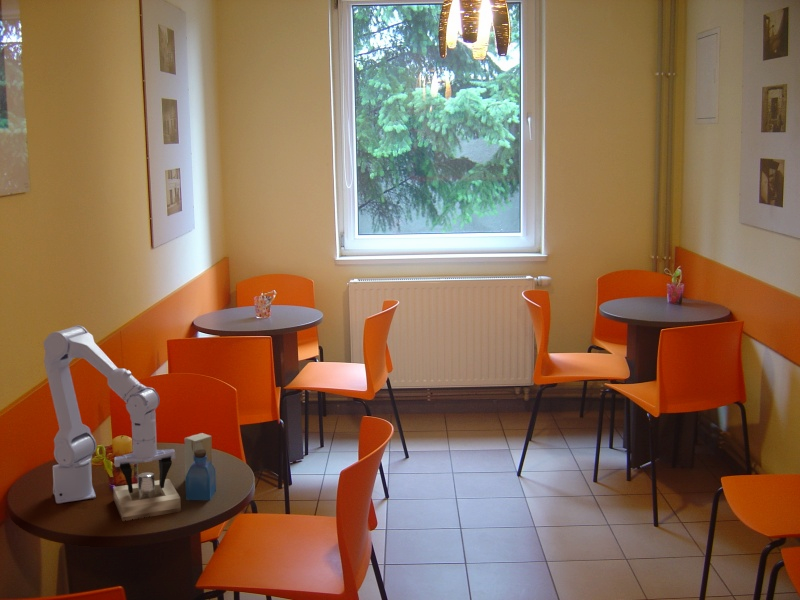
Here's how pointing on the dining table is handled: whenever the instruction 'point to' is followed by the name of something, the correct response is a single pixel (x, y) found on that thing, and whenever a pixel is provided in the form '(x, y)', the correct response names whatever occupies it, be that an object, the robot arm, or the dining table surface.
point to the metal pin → (146, 486)
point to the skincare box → (197, 448)
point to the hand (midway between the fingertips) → (146, 489)
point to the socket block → (146, 501)
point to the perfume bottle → (200, 478)
